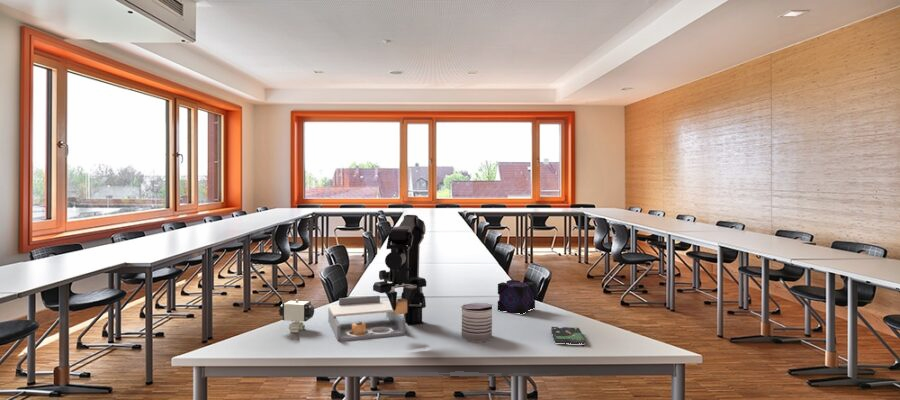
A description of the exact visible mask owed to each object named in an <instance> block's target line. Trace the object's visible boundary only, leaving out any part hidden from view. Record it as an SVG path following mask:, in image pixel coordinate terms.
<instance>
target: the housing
mask: <svg viewBox="0 0 900 400" xmlns="http://www.w3.org/2000/svg"><path fill="white" fill-rule="evenodd" d="M327 308H328V317H327V318H328V320H327V321H328V323H329V326H330V328H331V330H332V332H333V334H334V337H335V340H337V341H338V342H348V341H358V340H359V341H361V340H368V339H379V338H389V337H390V338H391V337H397V336H398V337H400V336H404V335H406V323H405V319H404V316H403V315H402V314H395V313H393V312H386V313H385V316H386V317H385V318H387V319H388V320H384V321H376V322H375V321H374V322H365V323H366V334H364V335H352V324H353V323H351V324H340V322H339V320H338V319H337V317H333V315H332V313H331V311H330V309H329V307H327Z"/></svg>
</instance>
